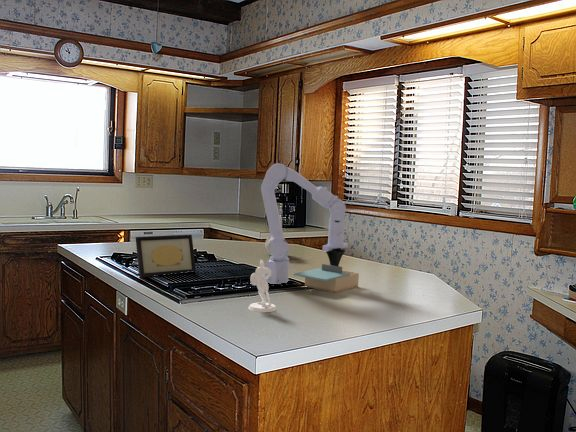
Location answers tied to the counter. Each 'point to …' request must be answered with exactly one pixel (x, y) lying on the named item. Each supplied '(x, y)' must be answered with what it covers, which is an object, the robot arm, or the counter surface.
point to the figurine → (262, 289)
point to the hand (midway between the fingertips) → (334, 269)
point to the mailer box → (334, 283)
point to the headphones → (268, 241)
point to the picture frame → (165, 255)
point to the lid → (324, 273)
